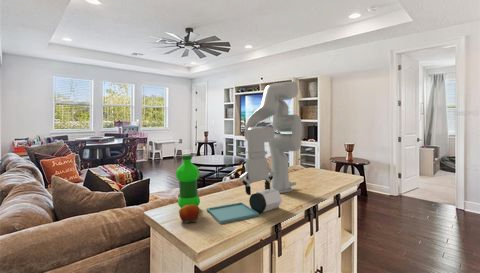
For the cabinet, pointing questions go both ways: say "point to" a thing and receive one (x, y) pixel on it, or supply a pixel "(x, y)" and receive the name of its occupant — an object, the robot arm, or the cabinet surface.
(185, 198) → the plastic bottle
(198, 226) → the cabinet surface
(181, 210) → the fruit
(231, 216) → the tray
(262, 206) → the jar
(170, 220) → the cabinet surface
